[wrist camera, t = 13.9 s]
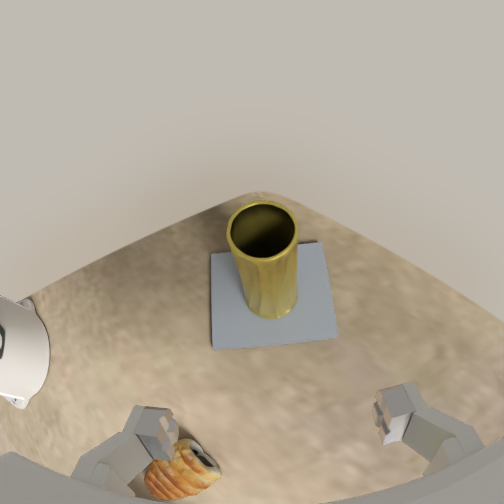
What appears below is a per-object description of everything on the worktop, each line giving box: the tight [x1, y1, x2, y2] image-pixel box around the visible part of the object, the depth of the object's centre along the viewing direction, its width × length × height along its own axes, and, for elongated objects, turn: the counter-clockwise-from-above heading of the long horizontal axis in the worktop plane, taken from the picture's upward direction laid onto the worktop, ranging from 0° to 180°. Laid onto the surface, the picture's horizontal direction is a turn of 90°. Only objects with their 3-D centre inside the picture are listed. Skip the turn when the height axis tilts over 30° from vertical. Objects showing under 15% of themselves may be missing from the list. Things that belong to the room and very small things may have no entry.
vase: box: [226, 200, 299, 319], centre depth 27 cm, size 6×6×14 cm
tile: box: [211, 242, 338, 350], centre depth 34 cm, size 14×12×1 cm
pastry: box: [144, 438, 222, 500], centre depth 24 cm, size 9×7×4 cm
